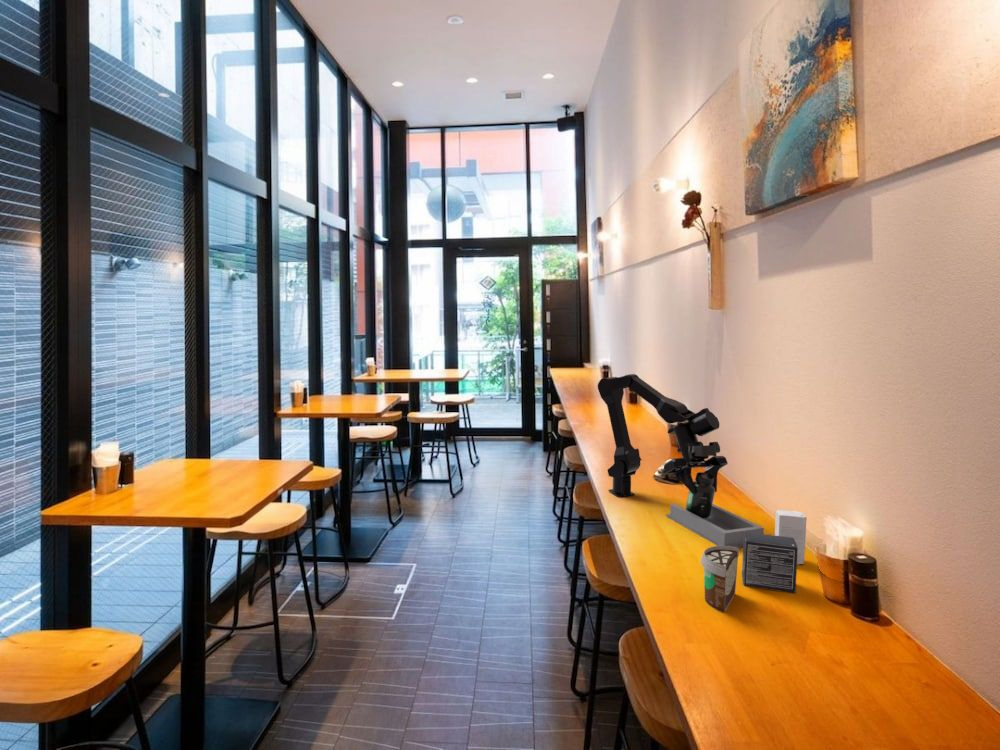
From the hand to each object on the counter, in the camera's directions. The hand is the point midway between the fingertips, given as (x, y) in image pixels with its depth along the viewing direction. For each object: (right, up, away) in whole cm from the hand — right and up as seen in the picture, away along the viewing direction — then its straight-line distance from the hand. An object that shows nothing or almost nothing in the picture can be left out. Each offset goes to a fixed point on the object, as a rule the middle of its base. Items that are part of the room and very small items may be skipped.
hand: (705, 493), depth 162 cm
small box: (+1, -13, -35) cm, 38 cm away
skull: (+3, -5, +44) cm, 45 cm away
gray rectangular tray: (+1, -9, -3) cm, 10 cm away
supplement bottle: (-1, -7, +3) cm, 8 cm away
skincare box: (+12, -12, -23) cm, 29 cm away
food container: (-13, -14, -42) cm, 46 cm away
